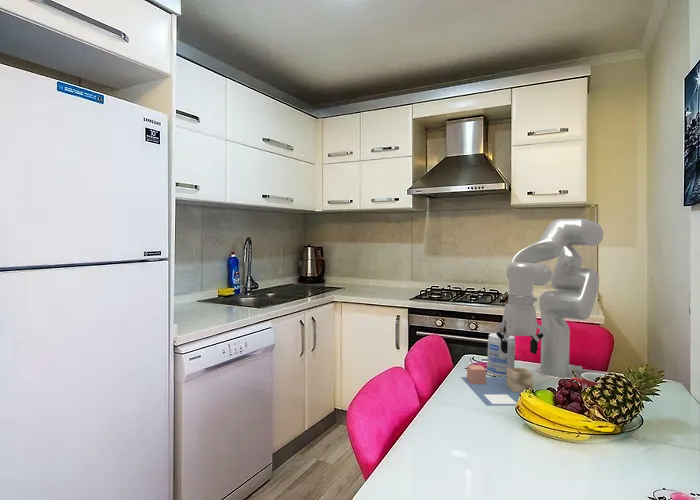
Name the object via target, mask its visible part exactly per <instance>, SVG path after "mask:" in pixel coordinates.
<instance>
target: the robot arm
mask: <svg viewBox="0 0 700 500" xmlns="http://www.w3.org/2000/svg"><path fill="white" fill-rule="evenodd" d="M603 229H604V228H602V226H601V224H599V223H598V222H595V221H592V220H589V219H586V218H582V217H581V218H559V219H558V218H557V219H554V220H552V221H551V222H550V223H549V224H548V226H547V227H546V228H545V229H544V231H543V233H542V235H541V236H540V238H539V239H538V241H537V242H534V243H532V244H530V245H528V246H526V247H524V248H523V249H521V250H519V251H518V252H516V254H515V255H514V256H513V257H512V259H511V260H510V262H509V264H508V266H507V267H506V278H507V279H508V303H505V305H504V308H503V309H504V310H503V315H502V321H501V322H500V323H498V324H495V325H494V326H493V327H492V328H493V331H494V333H496V335H497V336H498V337H499V338H500V339H501V350H502V352H504V353H507V351H508V342H507V341H506V340H507V339H508V337H509V336H510V335H511V336H514V337H515V336H516V337H530V338H531V339H530V341H529V343H530V344H529V345H530V347H529V352H530V353H531V354H534V355H537V354H538V353H537V352H538V349H539V347H538V346H539V342H540V341H541V342H540V367H539V368H536V370H535V372H536V373H537V374H539V375H542V376H545V377H549V378H554V379H555V378H556V379H561V378H572V377H573V375H574V374H572V373H573V372H572V371H574V372H583V367H582V366H581V365H575V364H570V340H571V337H570V336H571V329H570V325H568V323H567V321H566V319H571V320H579V321H585V320H587V319H589V318H590V317H591V315H592V312H593V310H594V305H595V303H596V302H595V301H596V298H597V296H598V295H597V294H598V291H599V287H600V277H599V273H598V272H597V271H596V270H594V269H592V268H589V267H588V268H587V267H582V264H583V258H582V255H581V254H580V252H578V250H577V249H575V247H574V246H584V247H585V246H587V247H588V246H590V247H591V246H598V245H600V244H601V243H602V241H603V239H604V230H603ZM556 258H557V261H556V264H555V267H554V270H553V272H552V269H551V268H550V267H549V266H548V265H547V264H545V263H543V262H547V261H550V260H553V259H556ZM549 282H550V283H551V284H550V285H551V288H553V290H547V291H543V292H542V293H541V295H540V297H539V300H538V299H537V297H534V286H545V285H548V284H549ZM537 302H538V305H539V310H540V319H541V325H540V324H539V323H538V321H537V313H536V312H537V311H536V306H535V305H534V303H537ZM500 330H502V332H501V331H500ZM538 330H539V332H538ZM501 333H502V334H501Z"/></svg>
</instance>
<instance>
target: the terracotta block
mask: <svg viewBox="0 0 700 500" xmlns="http://www.w3.org/2000/svg"><path fill="white" fill-rule="evenodd" d="M466 377H467V380H468V381H469V382H470V383H471V384H486V377H487V368H485V367H484V366H482V365H481V364H480V365H479V364H478V365H477V364H474V365H473V364H471V365H470V364H469V365H467V366H466Z"/></svg>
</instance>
